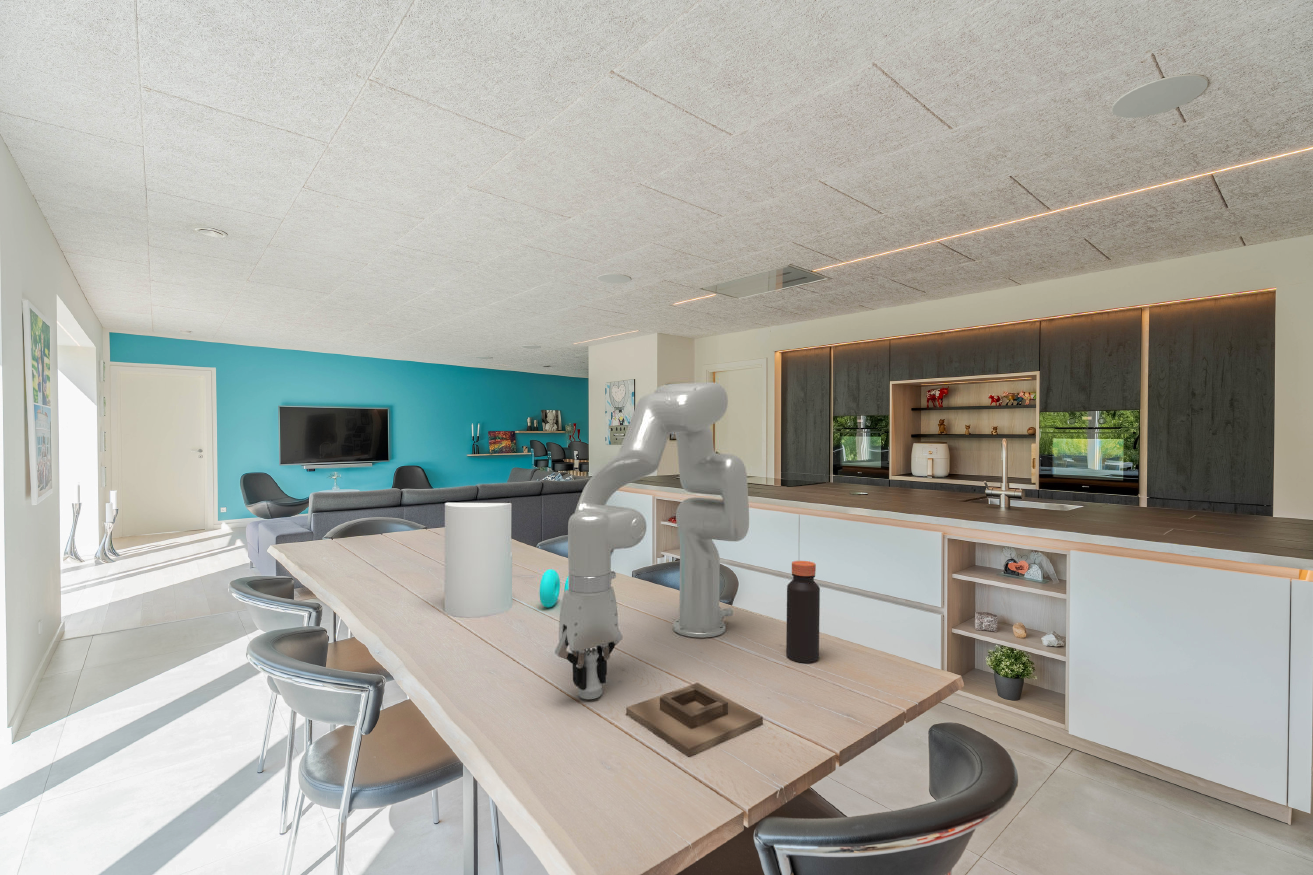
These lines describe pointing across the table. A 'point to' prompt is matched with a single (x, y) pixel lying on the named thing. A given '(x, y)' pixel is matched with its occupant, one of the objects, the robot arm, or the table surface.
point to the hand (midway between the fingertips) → (590, 682)
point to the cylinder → (478, 559)
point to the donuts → (550, 588)
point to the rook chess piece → (591, 676)
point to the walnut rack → (694, 718)
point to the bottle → (803, 614)
